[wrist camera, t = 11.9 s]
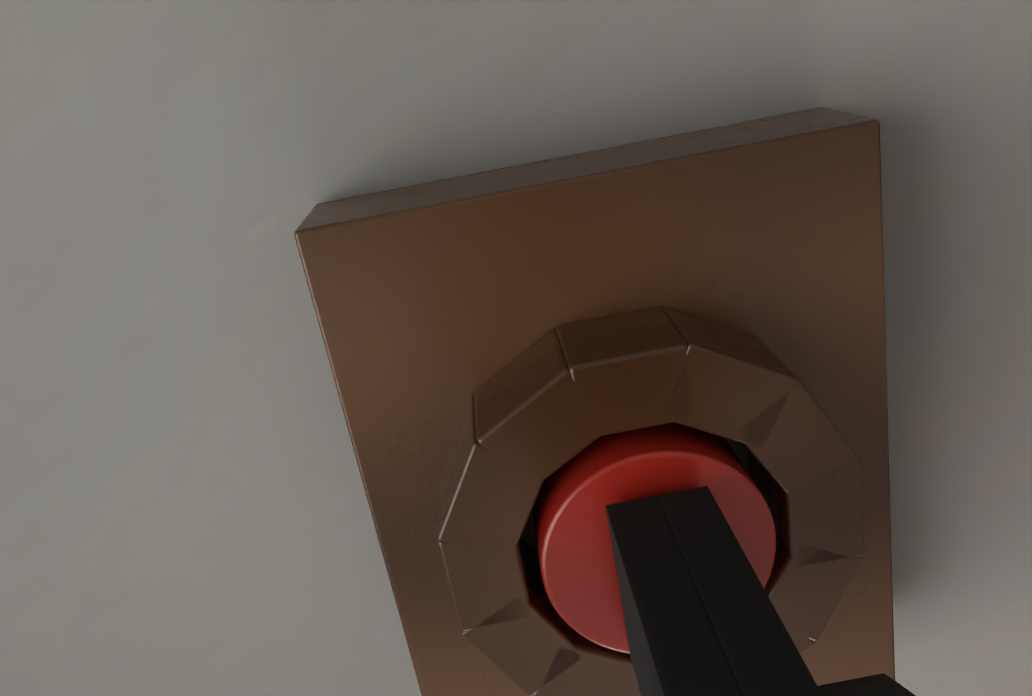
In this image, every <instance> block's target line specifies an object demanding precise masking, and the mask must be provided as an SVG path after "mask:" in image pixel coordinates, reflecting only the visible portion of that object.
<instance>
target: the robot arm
mask: <svg viewBox="0 0 1032 696" xmlns="http://www.w3.org/2000/svg"><path fill="white" fill-rule="evenodd" d="M605 506H606V512H607V518H608V524H609V530H610V536H611V542H612V548H613V555H614V561H615V567H616V573H617V579H618V585H619V591H620V597H621V603H622V609H623V616H624V622H625V628H626V634H627V640H628V646H629V652H630V657H631V661H632V664H633V668H634V672H635V675H636V679H637V683H638V686H639V690H640V693H641V696H915V695H914V694H912V693H911V692H910V691H908V690H907V689H906V688H904V687H903V686H901V685H900V684H899V683H897V682H896V681H895V680H893V679H892V678H890V677H889V676H888V675H886V674H885V673H882V674H877V675H872V676H866V677H861V678H856V679H851V680H845V681H840V682H835V683H829V684H824V685H819V686H817V684H816V682H815V681H814V679H813V677H812V675H811V673H810V671H809V670H808V668H807V666H806V664H805V662H804V661H803V659H802V657H801V655H800V653H799V651H798V650H797V648H796V646H795V644H794V642H793V640H792V639H791V637H790V635H789V633H788V631H787V630H786V628H785V626H784V624H783V622H782V620H781V619H780V617H779V615H778V613H777V611H776V610H775V608H774V606H773V604H772V602H771V600H770V599H769V597H768V595H767V593H766V591H765V590H764V588H763V586H762V584H761V582H760V580H759V579H758V577H757V575H756V573H755V571H754V569H753V568H752V566H751V564H750V562H749V560H748V559H747V557H746V555H745V553H744V551H743V549H742V548H741V546H740V544H739V542H738V540H737V539H736V537H735V535H734V533H733V531H732V529H731V528H730V526H729V524H728V522H727V520H726V518H725V517H724V515H723V513H722V511H721V509H720V508H719V506H718V504H717V502H716V500H715V498H714V497H713V495H712V493H711V491H710V489H709V488H708V486H704V487H699V488H693V489H688V490H683V491H678V492H672V493H667V494H662V495H657V496H651V497H646V498H641V499H636V500H630V501H625V502H620V503H615V504H609V505H605Z"/></svg>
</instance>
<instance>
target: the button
mask: <svg viewBox="0 0 1032 696" xmlns="http://www.w3.org/2000/svg"><path fill="white" fill-rule="evenodd" d="M704 486H708V488H709V489H710V491H711V493H712V495H713V497H714V498H715V500H716V502H717V504H718V506H719V508H720V509H721V511H722V513H723V515H724V517H725V518H726V520H727V522H728V524H729V526H730V528H731V529H732V531H733V533H734V535H735V537H736V539H737V540H738V542H739V544H740V546H741V548H742V549H743V551H744V553H745V555H746V557H747V559H748V560H749V562H750V564H751V566H752V568H753V569H754V571H755V573H756V575H757V577H758V579H759V580H760V582H761V584H762V586H763V588H765V586H766V584H767V581H768V579H769V577H770V574H771V571H772V567H773V564H774V559H775V552H776V531H775V525H774V520H773V517H772V514H771V511H770V508H769V506H768V504H767V502H766V500H765V498H764V496H763V495H762V493H761V492H760V490H759V489H758V487H757V486H756V484H755V483H754V481H753V480H752V478H751V477H750V475H749V473H748V472H747V470H746V469H745V467H744V466H743V464H742V463H741V461H740V460H739V458H738V457H737V455H736V454H735V452H734V451H733V449H732V448H731V446H730V445H729V444H728V442H727V441H726V439H725V438H724V437H721V436H718V435H714V434H711V433H708V432H705V431H701V430H698V429H695V428H692V427H689V426H685V425H682V424H679V423H676V422H672V423H667V424H662V425H657V426H651V427H646V428H641V429H636V430H631V431H625V432H620V433H615V434H610V435H604V436H600V437H599V438H598V439H597V440H595V441H594V442H593V443H591V444H590V445H589V446H588V447H586V448H585V449H584V450H582V451H581V452H580V453H578V454H577V455H576V456H575V457H573V458H572V459H571V460H569V461H568V462H567V463H566V464H564V465H563V466H562V467H560V468H559V469H558V470H557V471H555V472H554V473H553V474H551V475H550V476H549V477H548V478H546V479H545V480H544V482H543V484H542V486H541V489H540V491H539V494H538V496H537V499H536V501H535V503H534V506H533V508H532V516H533V524H534V531H535V537H536V543H537V550H538V556H539V563H540V569H541V575H542V580H543V584H544V587H545V591H546V593H547V595H548V598H549V600H550V602H551V604H552V605H553V607H554V608H555V610H556V611H557V613H558V614H559V615H560V616H561V618H562V619H563V620H564V621H565V622H566V623H567V624H568V625H569V626H570V627H571V628H573V629H574V630H575V631H576V632H577V633H579V634H580V635H582V636H583V637H585V638H586V639H588V640H590V641H592V642H594V643H596V644H598V645H600V646H602V647H605V648H608V649H612V650H615V651H619V652H624V653H629V654H630V652H629V646H628V640H627V634H626V628H625V622H624V616H623V609H622V603H621V597H620V591H619V585H618V579H617V573H616V567H615V561H614V555H613V548H612V542H611V536H610V530H609V524H608V518H607V512H606V506H605V505H609V504H615V503H620V502H625V501H630V500H636V499H641V498H646V497H651V496H657V495H662V494H667V493H672V492H678V491H683V490H688V489H693V488H699V487H704Z"/></svg>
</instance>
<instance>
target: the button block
mask: <svg viewBox="0 0 1032 696" xmlns="http://www.w3.org/2000/svg"><path fill="white" fill-rule="evenodd" d="M294 236H295V240H296V243H297V247H298V250H299V254H300V258H301V261H302V265H303V268H304V272H305V276H306V279H307V283H308V286H309V290H310V294H311V297H312V301H313V305H314V308H315V312H316V315H317V319H318V323H319V326H320V330H321V333H322V337H323V341H324V344H325V348H326V351H327V355H328V359H329V362H330V366H331V369H332V373H333V377H334V380H335V384H336V388H337V391H338V395H339V398H340V402H341V406H342V409H343V413H344V416H345V420H346V424H347V427H348V431H349V434H350V438H351V442H352V445H353V449H354V453H355V456H356V460H357V463H358V467H359V471H360V474H361V478H362V481H363V485H364V489H365V492H366V496H367V499H368V503H369V507H370V510H371V514H372V517H373V521H374V525H375V528H376V532H377V536H378V539H379V543H380V546H381V550H382V554H383V557H384V561H385V564H386V568H387V572H388V575H389V579H390V582H391V586H392V590H393V593H394V597H395V601H396V604H397V608H398V611H399V615H400V619H401V622H402V626H403V629H404V633H405V637H406V640H407V644H408V647H409V651H410V655H411V658H412V662H413V665H414V669H415V673H416V676H417V680H418V684H419V687H420V691H421V694H422V696H641V693H640V690H639V686H638V683H637V679H636V675H635V672H634V668H633V664H632V661H631V657H630V654H629V653H624V652H619V651H615V650H612V649H608V648H605V647H602V646H600V645H598V644H596V643H594V642H592V641H590V640H588V639H586V638H585V637H583V636H582V635H580V634H579V633H577V632H576V631H575V630H574V629H573V628H571V627H570V626H569V625H568V624H567V623H566V622H565V621H564V620H563V619H562V618H561V616H560V615H559V614H558V613H557V611H556V610H555V608H554V607H553V605H552V604H551V602H550V600H549V598H548V595H547V593H546V591H545V587H544V584H543V580H542V575H541V569H540V563H539V556H538V550H537V543H536V537H535V531H534V524H533V516H532V508H533V506H534V503H535V501H536V499H537V496H538V494H539V491H540V489H541V486H542V484H543V482H544V480H545V479H546V478H548V477H549V476H550V475H551V474H553V473H554V472H555V471H557V470H558V469H559V468H560V467H562V466H563V465H564V464H566V463H567V462H568V461H569V460H571V459H572V458H573V457H575V456H576V455H577V454H578V453H580V452H581V451H582V450H584V449H585V448H586V447H588V446H589V445H590V444H591V443H593V442H594V441H595V440H597V439H598V438H599V437H600V436H604V435H610V434H615V433H620V432H625V431H631V430H636V429H641V428H646V427H651V426H657V425H662V424H667V423H672V422H676V423H679V424H682V425H685V426H689V427H692V428H695V429H698V430H701V431H705V432H708V433H711V434H714V435H718V436H721V437H724V438H725V439H726V441H727V442H728V444H729V445H730V446H731V448H732V449H733V451H734V452H735V454H736V455H737V457H738V458H739V460H740V461H741V463H742V464H743V466H744V467H745V469H746V470H747V472H748V473H749V475H750V477H751V478H752V480H753V481H754V483H755V484H756V486H757V487H758V489H759V490H760V492H761V493H762V495H763V496H764V498H765V500H766V502H767V504H768V506H769V508H770V511H771V514H772V517H773V520H774V525H775V531H776V552H775V559H774V564H773V567H772V571H771V574H770V577H769V579H768V581H767V584H766V586H765V588H764V590H765V591H766V593H767V595H768V597H769V599H770V600H771V602H772V604H773V606H774V608H775V610H776V611H777V613H778V615H779V617H780V619H781V620H782V622H783V624H784V626H785V628H786V630H787V631H788V633H789V635H790V637H791V639H792V640H793V642H794V644H795V646H796V648H797V650H798V651H799V653H800V655H801V657H802V659H803V661H804V662H805V664H806V666H807V668H808V670H809V671H810V673H811V675H812V677H813V679H814V681H815V682H816V684H817V686H819V685H824V684H829V683H835V682H840V681H845V680H851V679H856V678H861V677H866V676H872V675H877V674H882V673H885V674H886V675H888V676H889V677H890V678H892V679H893V680H895V665H894V629H893V592H892V556H891V520H890V483H889V447H888V411H887V374H886V338H885V302H884V265H883V229H882V193H881V156H880V123H879V121H878V120H876V119H871V118H867V117H862V116H858V115H853V114H849V113H844V112H839V111H835V110H830V109H826V108H821V107H820V108H815V109H810V110H805V111H799V112H794V113H789V114H784V115H779V116H773V117H768V118H763V119H758V120H753V121H747V122H742V123H737V124H732V125H727V126H721V127H716V128H711V129H706V130H701V131H695V132H690V133H685V134H680V135H674V136H669V137H664V138H659V139H654V140H648V141H643V142H638V143H633V144H628V145H622V146H617V147H612V148H607V149H602V150H596V151H591V152H586V153H581V154H575V155H570V156H565V157H560V158H555V159H549V160H544V161H539V162H534V163H529V164H523V165H518V166H513V167H508V168H503V169H497V170H492V171H487V172H482V173H477V174H471V175H466V176H461V177H456V178H450V179H445V180H440V181H435V182H430V183H424V184H419V185H414V186H409V187H404V188H398V189H393V190H388V191H383V192H378V193H372V194H367V195H362V196H357V197H352V198H346V199H341V200H336V201H331V202H325V203H320V204H317V205H316V206H315V207H314V208H313V209H312V211H311V212H310V213H309V214H308V216H307V217H306V218H305V220H304V221H303V222H302V223H301V225H300V226H299V227H298V228H297V230H296V231H295V234H294Z"/></svg>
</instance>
